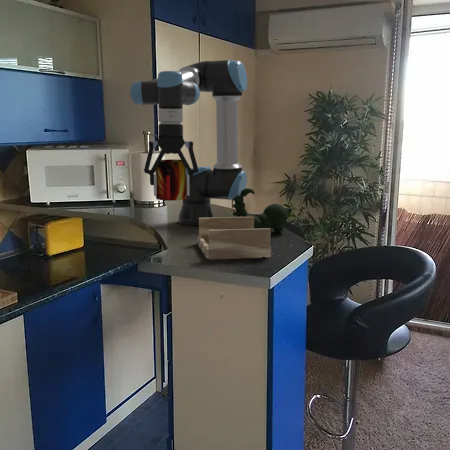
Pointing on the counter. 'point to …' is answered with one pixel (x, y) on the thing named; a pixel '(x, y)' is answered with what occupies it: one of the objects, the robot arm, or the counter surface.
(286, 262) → the counter surface
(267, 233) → the open wooden box
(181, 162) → the mug
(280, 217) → the toy figurine
